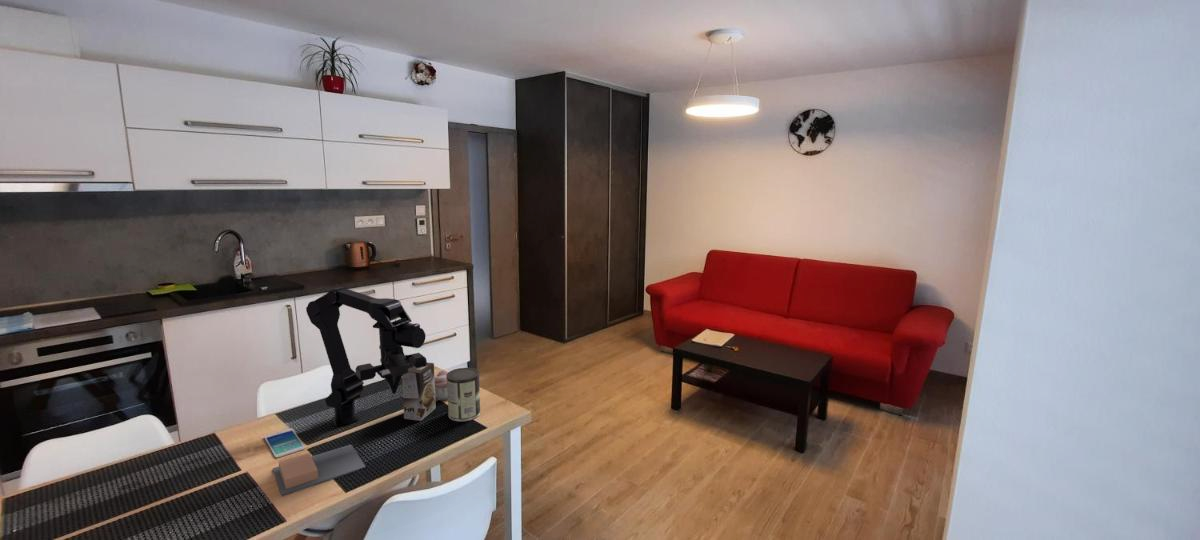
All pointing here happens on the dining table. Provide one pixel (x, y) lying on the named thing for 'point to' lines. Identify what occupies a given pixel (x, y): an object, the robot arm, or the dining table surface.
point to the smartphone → (284, 443)
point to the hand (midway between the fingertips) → (393, 393)
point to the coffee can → (463, 394)
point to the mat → (326, 468)
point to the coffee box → (419, 392)
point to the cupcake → (441, 385)
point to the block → (298, 470)
